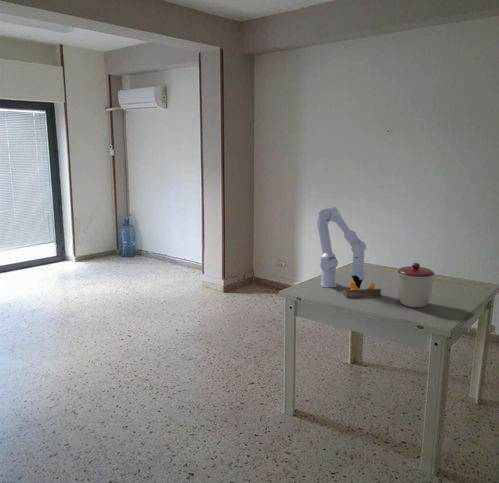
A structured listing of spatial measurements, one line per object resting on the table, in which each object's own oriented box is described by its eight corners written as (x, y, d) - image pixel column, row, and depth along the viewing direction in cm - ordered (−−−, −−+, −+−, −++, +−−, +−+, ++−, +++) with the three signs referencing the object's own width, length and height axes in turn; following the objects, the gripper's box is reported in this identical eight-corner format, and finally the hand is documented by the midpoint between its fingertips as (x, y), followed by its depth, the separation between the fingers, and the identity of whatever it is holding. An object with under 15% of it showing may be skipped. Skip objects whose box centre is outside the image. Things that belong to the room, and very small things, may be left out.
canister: (397, 310, 230) (399, 267, 226) (391, 298, 247) (393, 258, 243) (437, 311, 227) (440, 268, 223) (428, 299, 245) (431, 259, 241)
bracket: (342, 293, 255) (343, 286, 254) (376, 293, 256) (376, 285, 255) (346, 297, 249) (346, 290, 248) (380, 296, 250) (380, 289, 249)
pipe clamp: (350, 295, 253) (350, 283, 252) (351, 292, 257) (351, 281, 256) (373, 297, 250) (374, 285, 248) (374, 294, 254) (374, 283, 252)
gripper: (369, 267, 250) (368, 292, 253) (361, 261, 264) (360, 285, 267) (356, 268, 250) (355, 293, 252) (349, 261, 264) (348, 285, 266)
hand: (357, 289), depth 260 cm, fingers closed
